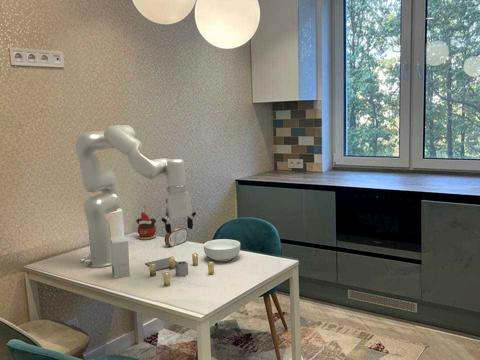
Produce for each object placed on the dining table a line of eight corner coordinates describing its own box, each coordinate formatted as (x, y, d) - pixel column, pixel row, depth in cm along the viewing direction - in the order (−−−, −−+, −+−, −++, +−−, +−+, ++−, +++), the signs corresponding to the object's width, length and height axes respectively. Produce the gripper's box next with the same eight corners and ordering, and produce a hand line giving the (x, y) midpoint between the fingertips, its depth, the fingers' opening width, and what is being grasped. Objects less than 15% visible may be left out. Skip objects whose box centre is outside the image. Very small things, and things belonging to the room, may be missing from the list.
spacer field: (165, 286, 181) (164, 274, 180) (146, 273, 197) (146, 262, 196) (215, 273, 193) (214, 262, 193) (194, 262, 209) (193, 251, 208)
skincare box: (112, 272, 200) (109, 237, 198) (127, 270, 202) (124, 235, 200) (115, 279, 192) (111, 242, 190) (131, 276, 195) (128, 240, 192)
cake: (159, 235, 257) (157, 203, 254) (153, 240, 248) (151, 207, 245) (141, 235, 259) (139, 203, 256) (134, 240, 250) (132, 207, 247)
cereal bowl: (233, 266, 202) (232, 250, 201) (198, 263, 208) (197, 247, 207) (246, 254, 218) (245, 239, 217) (213, 251, 224) (212, 237, 222)
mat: (155, 271, 199) (155, 269, 199) (145, 264, 209) (145, 262, 209) (181, 265, 206) (181, 263, 206) (169, 258, 216) (169, 257, 216)
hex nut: (180, 277, 191) (179, 265, 190) (174, 274, 195) (173, 262, 194) (189, 275, 193) (189, 263, 192) (184, 271, 197) (183, 260, 197)
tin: (184, 240, 246) (183, 224, 244) (189, 241, 244) (188, 225, 242) (164, 248, 233) (163, 231, 232) (169, 248, 232) (167, 232, 230)
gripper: (160, 193, 181) (164, 236, 184) (199, 187, 190) (202, 228, 193) (153, 191, 187) (156, 232, 190) (191, 185, 197) (194, 225, 199)
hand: (179, 230), depth 191 cm, fingers open, 9 cm apart
